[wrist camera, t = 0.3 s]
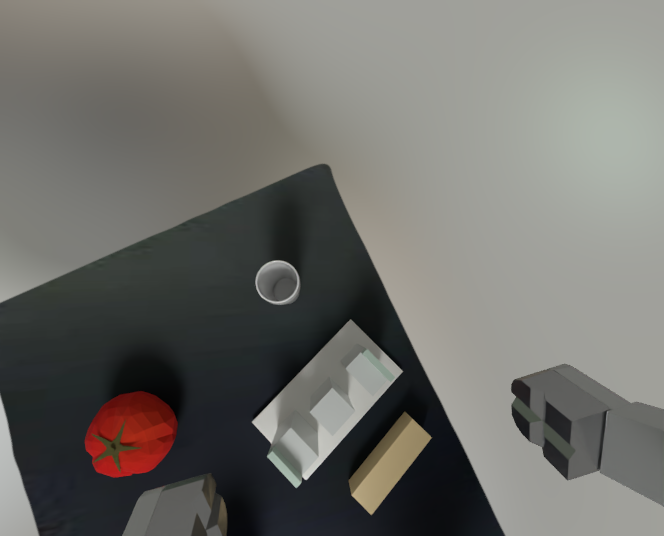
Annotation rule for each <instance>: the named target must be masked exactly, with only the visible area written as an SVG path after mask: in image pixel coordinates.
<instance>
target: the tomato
mask: <svg viewBox="0 0 664 536" xmlns="http://www.w3.org/2000/svg"><path fill="white" fill-rule="evenodd" d="M177 424H178V423H177V420H176V417H175V414H174V412H173V410H172V409H171V408H170V406H169V405H168V404H166V403H165V402H164V401H162V400H161V399H160V398H158V397H157V396H156V395H153V394H150V393H147V392H143V391H138V392H132V393H127V394H122V395H119V396H117V397H115V398H113V399H111V400H110V401H109V402H107V403H106V404H104V405H103V406H102V408H101V409H100V411H99V412H98V413H97V415H96V416H95V418H94V419H93V421H92V423H91V425H90V427H89V429H88V431H87V435H86V438H85V446H86V451H87V452H88V453H89V454H91V455H92V456H93V460H92V464H93V466H94V468H95V470H96V472H99V473H102V474H105V475H108V476H111V477H122V476H129V475H132V474H133V473H136V474H139V473H144V472H148V471H150V470H152V469H154V468H155V467H156V466H157V465H158V464H159V463H160V461H161V460H162V459H163V458H164V457H165V455H166V454H167V453H168V452H169V450H170V449H171V447H172V445H173V442H174V440H175V437H176V432H177Z"/></svg>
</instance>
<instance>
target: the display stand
mask: <svg viewBox="0 0 664 536" xmlns="http://www.w3.org/2000/svg"><path fill="white" fill-rule="evenodd" d="M402 372H403V371H402V370H401V369H400V368H399V367H398V366H397V365H396V364H395V363H394V362H393V361H392V360H391V359H390V358H389V357H388V356H387V355H386V354H385V353H384V352H383V351H382V350H381V349H380V348H379V347H378V346H377V345H376V344H375V343H374V342H373V341H372V340H371V339H370V338H369V337H368V336H367V335H366V334H365V333H364V332H363V331H362V330H361V329H360V328H359V327H358V326H357V325H356V324H355V323H354V322H353V321H352V320H351V319H350V320H349V321H348V322H347V323H346V324H345V325H344V326H343V327H342V328H341V330H340V331H339V332H338V333H337V334H336V335H335V336H334V337H333V338H332V339H331V340H330V341H329V342H328V343H327V344H326V345H325V346H324V347H323V348H322V349H321V350H320V351H319V352H318V353H317V354H316V356H315V357H314V358H313V359H312V360H311V361H310V362H309V363H308V364H307V365H306V366H305V367H304V368H303V369H302V370H301V371H300V372H299V373H298V374H297V375H296V376H295V377H294V378H293V379H292V381H291V382H290V383H289V384H288V385H287V386H286V387H285V388H284V389H283V390H282V391H281V392H280V393H279V394H278V395H277V396H276V397H275V398H274V399H273V400H272V401H271V402H270V403H269V404H268V405H267V407H266V408H265V409H264V410H263V411H262V412H261V413H260V414H259V415H258V416H257V417H256V418H255V419H254V420H253V421H252V423H253V424H254V425H255V426H256V427H257V428H258V429H259V430H260V432H261V433H262V434H263V435H264V436H265V437H266V438H267V439H268V440H269V441H270V442H271V443H272V444H271V447H270V450H269V453H268V455H267V457H268V458H269V459H270V460H271V461H272V462H273V463H274V465H275V466H276V467H277V468H278V469H279V470H280V471H281V472H282V473H283V474H284V475H285V476H286V478H287V479H288V480H289V481H290V482H291V483H292V484H293V485H294V486H295V487H296V488H297V487H298V486H299V485H300V484H301V482H302V477H303V478H304V479H305V480H307V479H308V478H309V477H310V475H311V474H312V473H313V472H314V471H315V470H316V469H317V468H318V466H319V465H320V464H321V463H322V462H323V461H324V460H325V459H326V457H327V456H328V455H329V454H330V453H331V452H332V451H333V450H334V448H335V447H336V446H337V445H338V444H339V443H340V442H341V441H342V439H343V438H344V437H345V436H346V435H347V434H348V433H349V432H350V430H351V429H352V428H353V427H354V426H355V425H356V424H357V423H358V421H359V420H360V419H361V418H362V417H363V416H364V415H365V414H366V412H367V411H368V410H369V409H370V408H371V407H372V406H373V404H374V403H375V402H376V401H377V400H378V399H379V398H380V397H381V395H382V394H383V393H384V392H385V391H386V390H387V389H388V388H389V386H390V385H391V384H392V383H393V382H394V381H395V380H396V379H397V377H398V376H399V375H400V374H401V373H402Z"/></svg>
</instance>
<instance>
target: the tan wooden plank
mask: <svg viewBox="0 0 664 536" xmlns="http://www.w3.org/2000/svg"><path fill="white" fill-rule="evenodd" d="M431 438H432V437H431V436H430V435H429V434H428V433H427V432H426V431H425V430H424V429H423V428H422V427H421V426H420V425H419V424H418V423H416V422H415V421H414V420H413V419H412V418H411V417H410V416H409V415H408V414H407V413H406V412H404V413H403V414H402V415H401V417H400V418H399V419H398V420H397V421H396V423H395V424H394V425H393V426H392V428H391V429H390V430H389V431H388V433H387V434H386V435H385V436H384V438H383V439H382V440H381V441H380V442H379V444H378V445H377V446H376V447H375V449H374V450H373V451H372V452H371V454H370V455H369V456H368V457H367V458H366V460H365V461H364V462H363V463H362V465H361V466H360V467H359V468H358V470H357V471H356V472H355V473H354V474H353V476H352V477H351V478H350V479H349V485H350V490H351V495H352V496H353V497H354V498H355V499H356V500H357V501H358V502H359V503H360V504H361V505H362V506H363V507H364V508H365V509H366V510H367V511H368V512H369V513H370V514H371V515H372V514H373V513H374V511H375V510H376V509H377V507H378V506H379V505H380V504H381V502H382V501H383V500H384V498H385V497H386V496H387V495H388V493H389V492H390V491H391V489H392V488H393V487H394V486H395V484H396V483H397V482H398V481H399V479H400V478H401V477H402V475H403V474H404V473H405V472H406V470H407V469H408V468H409V466H410V465H411V464H412V463H413V461H414V460H415V459H416V457H417V456H418V455H419V454H420V452H421V451H422V450H423V448H424V447H425V446H426V445H427V443H428V442H429V441H430V439H431Z"/></svg>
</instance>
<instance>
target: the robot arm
mask: <svg viewBox="0 0 664 536" xmlns="http://www.w3.org/2000/svg"><path fill="white" fill-rule="evenodd" d="M511 391H512V393H513V394H514V395H515V396H516V398H515V400H514V402H513V404H512V416H513V418H514V421H515V423H516V426H517V427H518V428H519V430H520V431H521V433H522V434H523V435H524V436H525V437H526V438H527V439H528V440H529V441H530V442H532V443H534V444H536V445H538V446H541V447H542V449H543V454H544V457H545V458H546V459H547V460H548V461H549V462H550V463H551V464H552V465H553V466H554V467H555V468H556V469H557V470H558V471H559V472H560V473H561V474H562V475H563V476H564V477H565V478H566V479H567V480H571V479H574V478H577V477H580V476H583V475H587V474H590V473H593V472H596V471H599V470H600V473H602V474H604V475H605V476H607V477H609V478H611V479H613V480H615V481H617V482H619V483H621V484H622V485H624V486H626V487H628V488H630V489H632V490H634V491H636V492H638V493H639V494H641V495H644V496H645V497H647V498H649V499H651V500H653V501H655V502H656V503H659V504H660V505H662V506H664V409H661V408H657V407H654V406H650V405H647V404H643V403H639V402H634V403H630V402H628V401H627V400H625V399H623V398H622V397H620V396H619V395H617V394H615V393H614V392H612V391H611V390H609V389H607V388H606V387H604V386H603V385H601V384H600V383H598V382H596V381H595V380H593V379H591V378H590V377H588V376H587V375H585V374H583V373H582V372H580V371H579V370H577V369H576V368H574V367H572V366H570V365H567V364H562V365H559V366H556V367H553V368H549V369H547V370H543V371H540V372H537V373H534V374H530V375H527V376H524V377H521V378H518V379H515V380H514V381H513V383H512V387H511ZM215 488H216V482H215V480H214V478H213V476H212V474H205V475H202V476H198V477H194V478H191V479H187V480H183V481H180V482H176V483H173V484H169V485H166V486H163V487H160V488H156V489H153V490H149V491H145V492H144V493H143V494H142V495H141V496H140V498H139V499H138V501H137V503H136V505H135V508H134V510H133V512H132V515H131V517H130V519H129V522H128V524H127V526H126V529H125V531H124V533H123V536H227V512H226V507H225V503H224V500H223V498H222V496H220V495H218V494H216V493H215Z"/></svg>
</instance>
